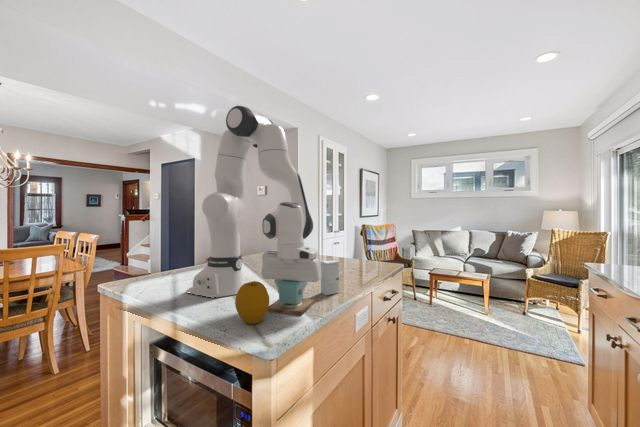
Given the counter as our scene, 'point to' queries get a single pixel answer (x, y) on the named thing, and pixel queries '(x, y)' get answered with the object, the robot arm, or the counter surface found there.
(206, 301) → the counter surface
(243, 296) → the apple
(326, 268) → the skincare box
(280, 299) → the teal cube box
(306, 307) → the tan plate with disc
